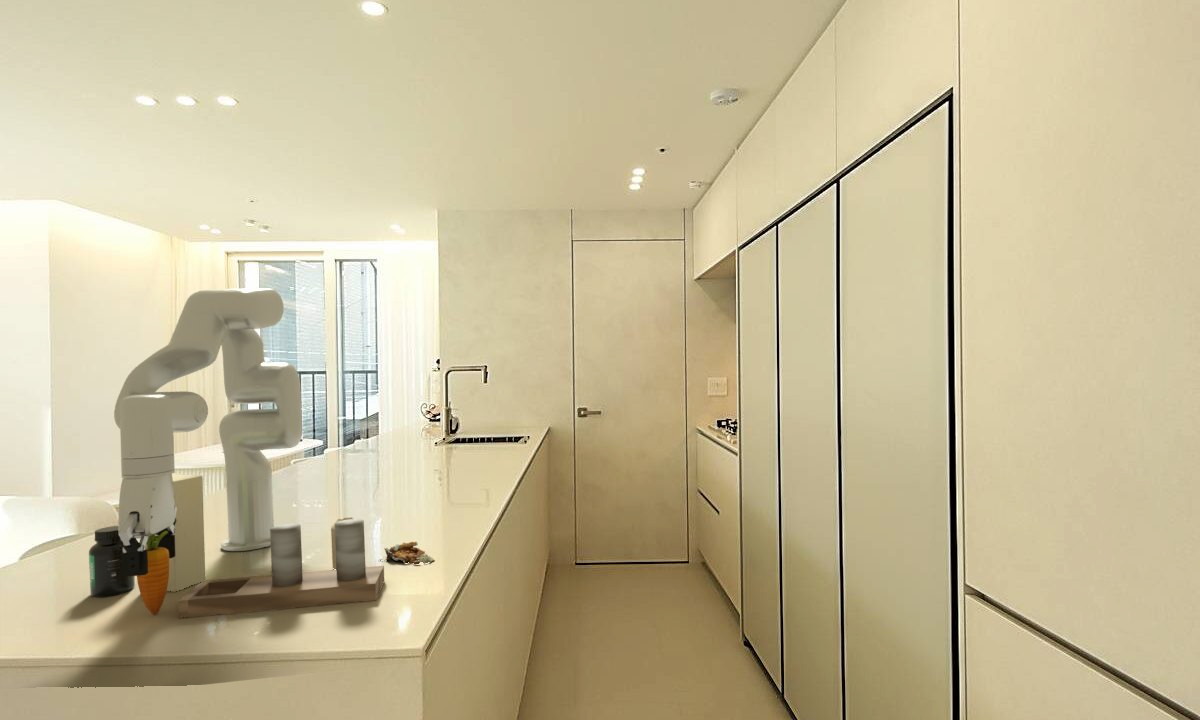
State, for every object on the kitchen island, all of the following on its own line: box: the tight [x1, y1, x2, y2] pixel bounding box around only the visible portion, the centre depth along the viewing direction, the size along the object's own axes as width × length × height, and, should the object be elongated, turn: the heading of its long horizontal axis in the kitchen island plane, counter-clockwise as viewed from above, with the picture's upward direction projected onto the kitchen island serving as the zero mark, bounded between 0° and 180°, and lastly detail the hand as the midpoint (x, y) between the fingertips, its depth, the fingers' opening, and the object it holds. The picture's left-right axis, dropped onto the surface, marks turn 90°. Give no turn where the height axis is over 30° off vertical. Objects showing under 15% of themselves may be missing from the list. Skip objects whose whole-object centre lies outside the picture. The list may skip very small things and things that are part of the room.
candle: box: [330, 517, 354, 569], centre depth 136 cm, size 6×6×10 cm
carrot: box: [136, 531, 169, 615], centre depth 114 cm, size 5×5×15 cm
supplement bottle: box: [88, 525, 136, 598], centre depth 126 cm, size 7×7×12 cm
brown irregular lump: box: [379, 541, 434, 564], centre depth 141 cm, size 7×12×4 cm, turn 68°
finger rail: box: [177, 518, 385, 619], centre depth 119 cm, size 10×32×13 cm, turn 100°
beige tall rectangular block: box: [144, 473, 206, 593], centre depth 129 cm, size 8×7×21 cm
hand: (151, 566), depth 113 cm, fingers open, 9 cm apart
